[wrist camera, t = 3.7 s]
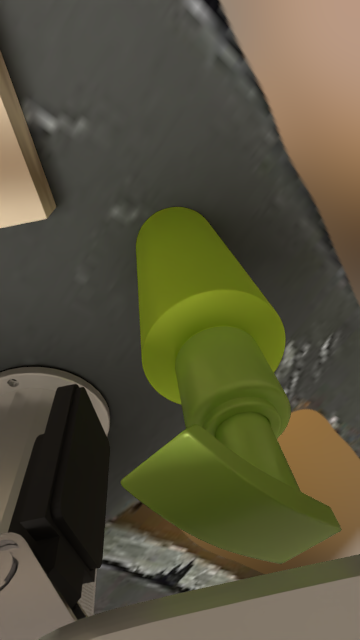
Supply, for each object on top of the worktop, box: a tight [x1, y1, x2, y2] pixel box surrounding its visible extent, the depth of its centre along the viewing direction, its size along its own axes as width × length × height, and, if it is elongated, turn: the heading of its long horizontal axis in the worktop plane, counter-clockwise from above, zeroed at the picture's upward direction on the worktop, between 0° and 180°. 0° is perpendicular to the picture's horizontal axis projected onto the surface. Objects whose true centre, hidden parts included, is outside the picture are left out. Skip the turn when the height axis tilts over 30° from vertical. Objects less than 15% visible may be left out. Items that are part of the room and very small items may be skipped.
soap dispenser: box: [121, 207, 341, 564], centre depth 16 cm, size 6×7×20 cm
